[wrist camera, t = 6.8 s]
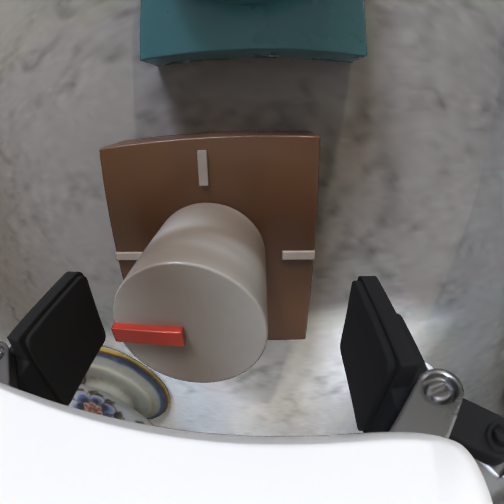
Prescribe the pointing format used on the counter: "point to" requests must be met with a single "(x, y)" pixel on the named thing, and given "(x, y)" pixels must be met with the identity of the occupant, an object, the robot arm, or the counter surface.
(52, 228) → the counter surface
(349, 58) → the button box
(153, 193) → the dial panel
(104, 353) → the apothecary jar
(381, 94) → the counter surface
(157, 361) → the dial knob
